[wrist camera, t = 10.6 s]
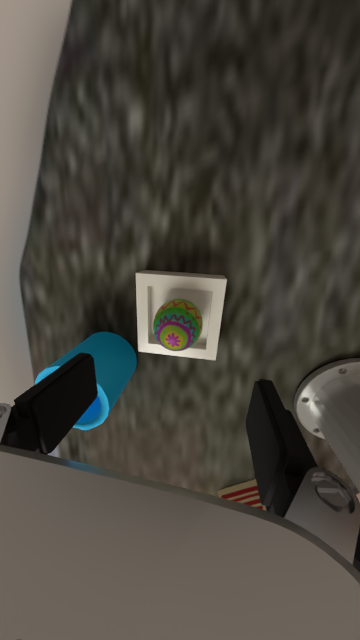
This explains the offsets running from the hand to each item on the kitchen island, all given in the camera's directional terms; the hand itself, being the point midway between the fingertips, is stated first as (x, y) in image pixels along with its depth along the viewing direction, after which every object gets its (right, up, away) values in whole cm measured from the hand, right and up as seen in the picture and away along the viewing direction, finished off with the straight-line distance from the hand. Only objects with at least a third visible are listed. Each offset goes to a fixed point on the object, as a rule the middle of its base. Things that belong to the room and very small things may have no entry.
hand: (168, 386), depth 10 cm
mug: (-10, -3, +17) cm, 20 cm away
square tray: (+1, +5, +12) cm, 13 cm away
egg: (+1, +4, +10) cm, 11 cm away
